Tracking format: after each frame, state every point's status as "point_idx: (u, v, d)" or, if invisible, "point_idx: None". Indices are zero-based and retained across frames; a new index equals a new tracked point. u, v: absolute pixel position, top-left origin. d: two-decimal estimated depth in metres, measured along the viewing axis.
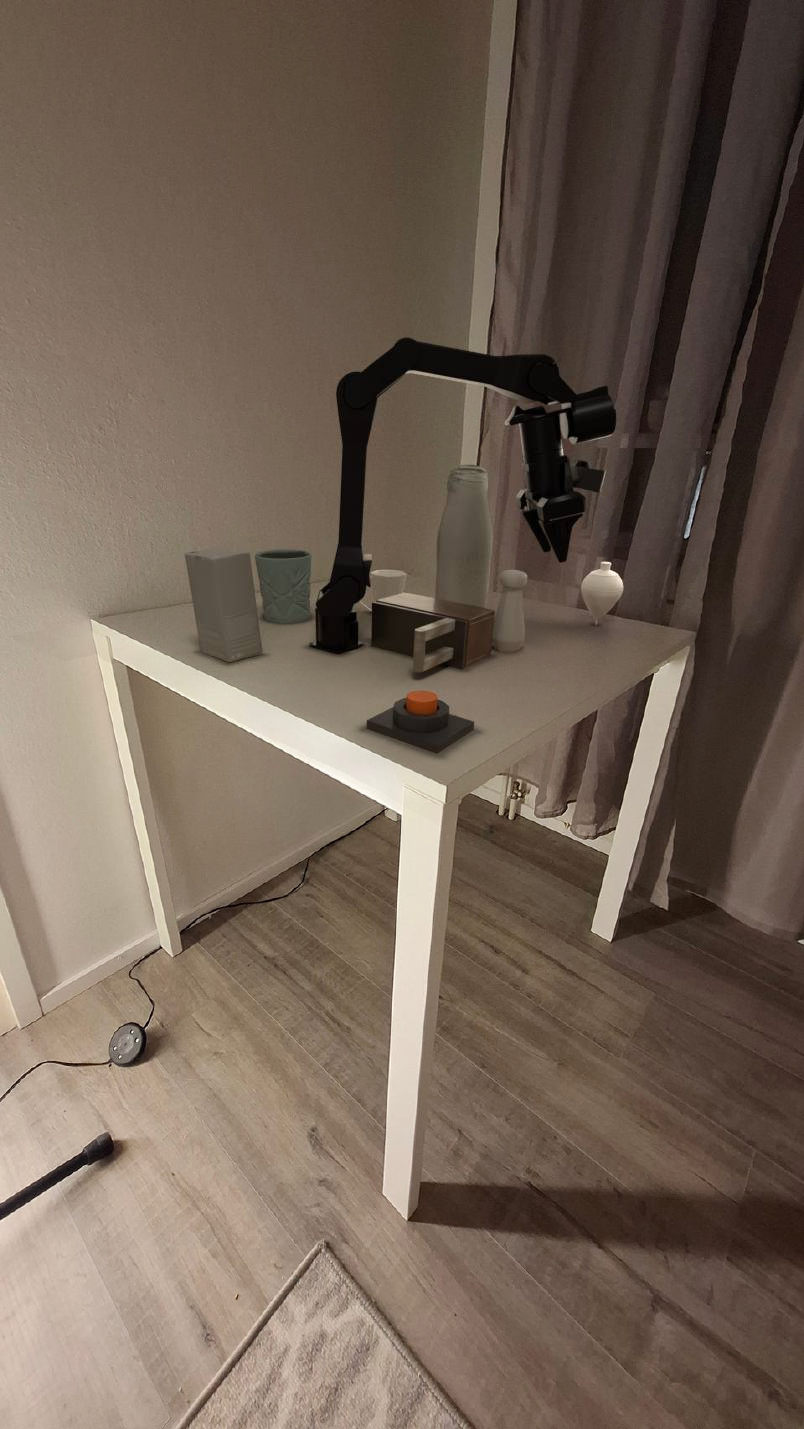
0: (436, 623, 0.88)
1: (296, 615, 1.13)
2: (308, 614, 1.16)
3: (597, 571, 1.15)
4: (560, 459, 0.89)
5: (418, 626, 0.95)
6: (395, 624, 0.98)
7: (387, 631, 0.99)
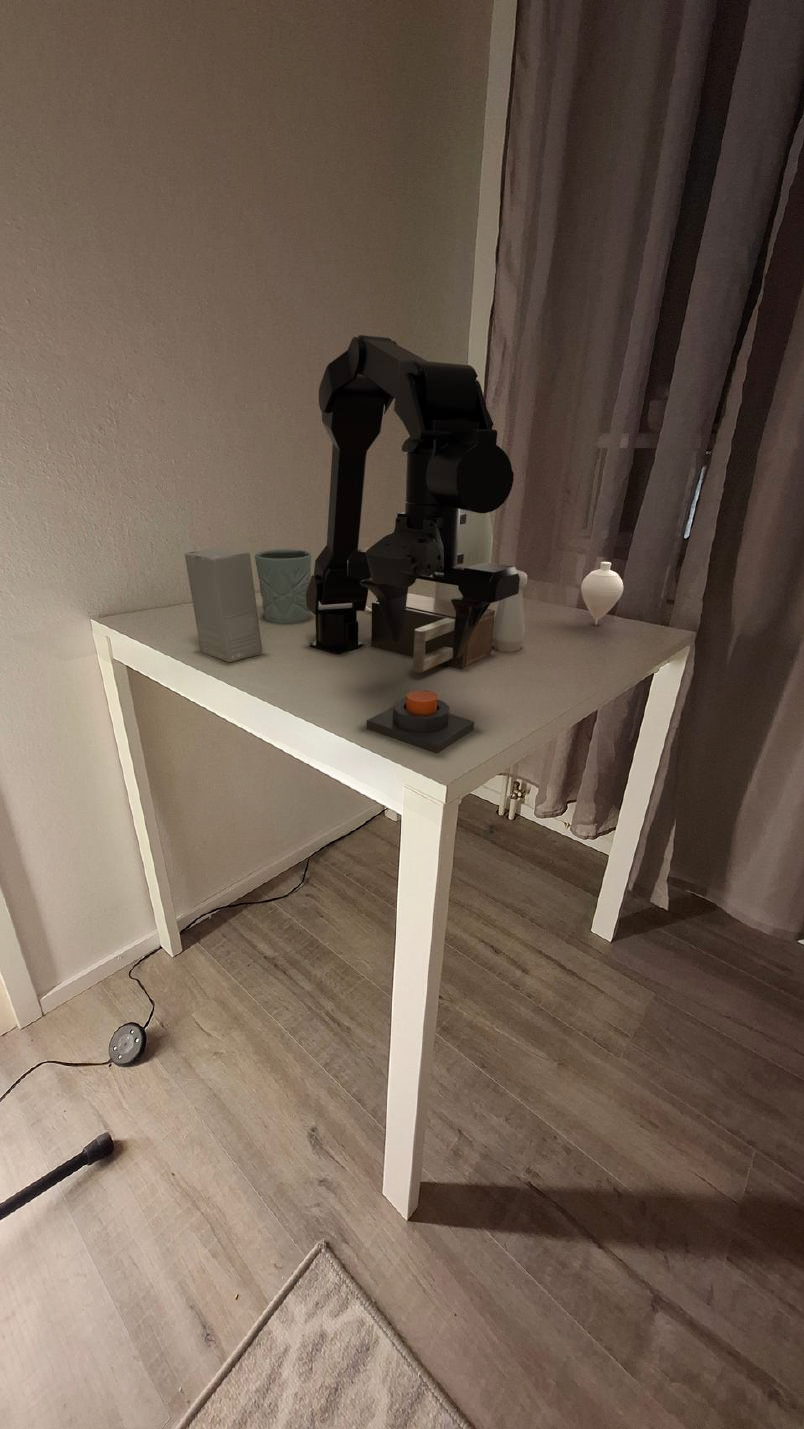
0: (436, 623, 0.88)
1: (296, 615, 1.13)
2: (308, 614, 1.16)
3: (597, 571, 1.15)
4: None
5: (418, 626, 0.95)
6: None
7: (387, 631, 0.99)
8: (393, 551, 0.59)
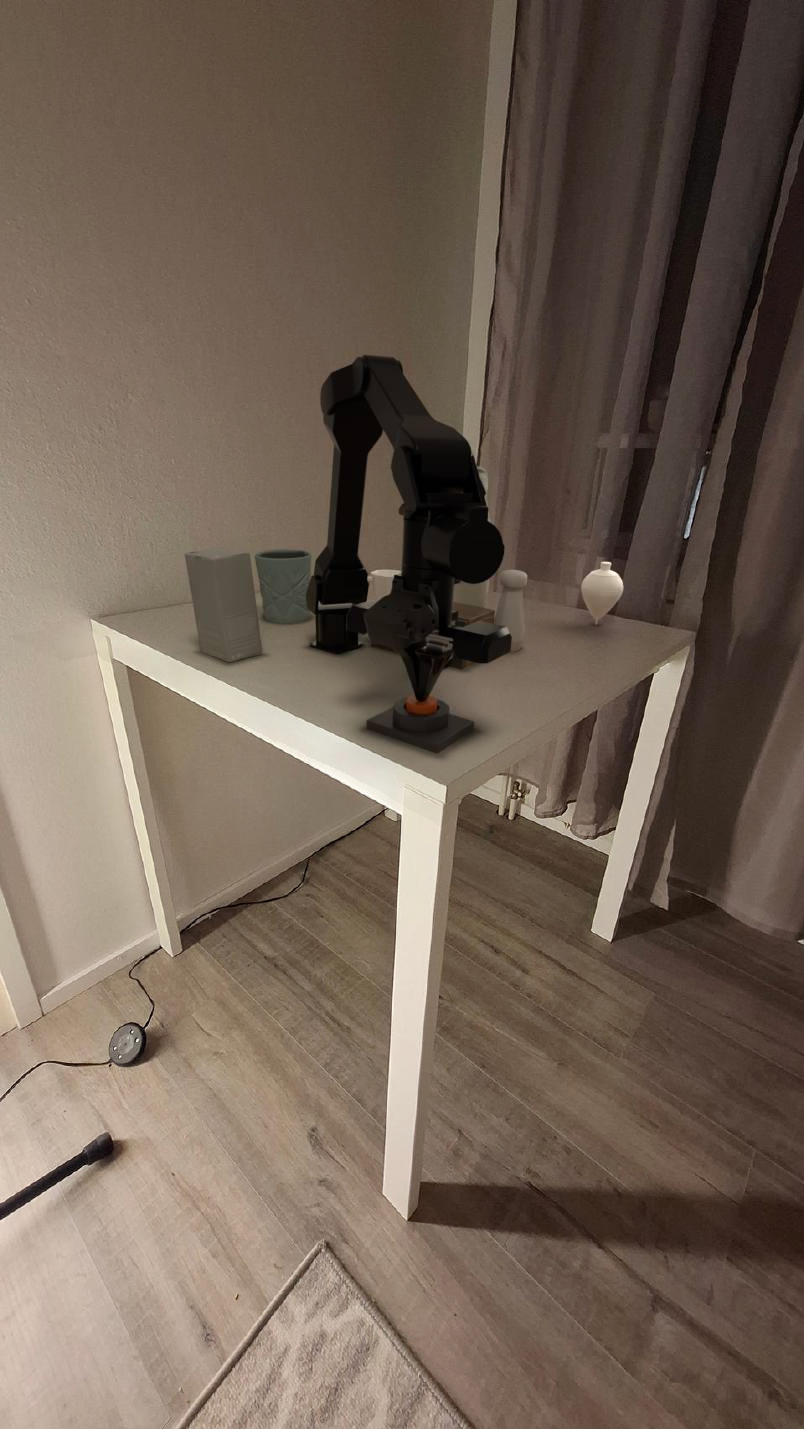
0: None
1: (296, 615, 1.13)
2: (308, 614, 1.16)
3: (597, 571, 1.15)
4: None
5: None
6: None
7: None
8: (389, 615, 0.61)
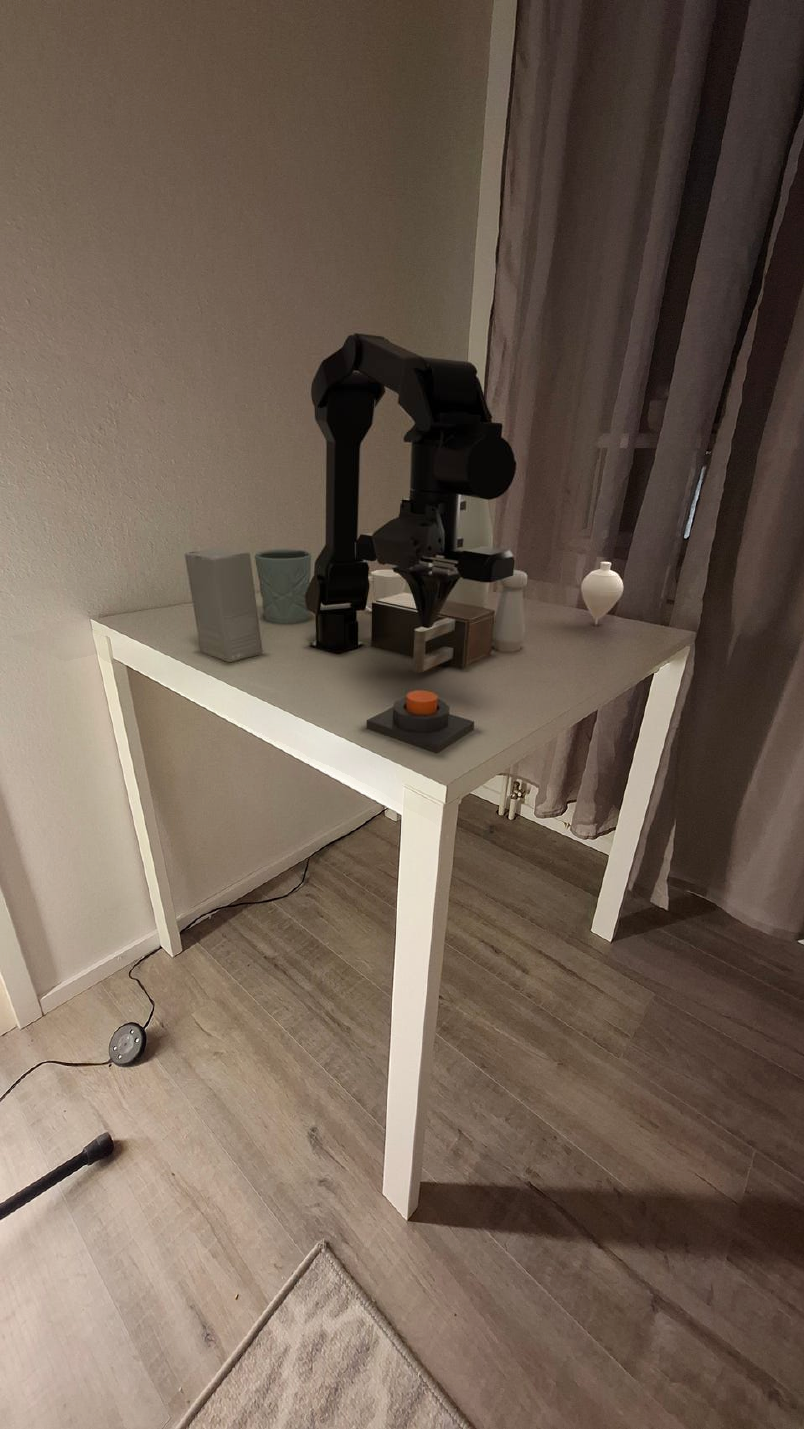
0: (436, 623, 0.88)
1: (296, 615, 1.13)
2: (308, 614, 1.16)
3: (597, 571, 1.15)
4: None
5: (418, 626, 0.95)
6: (395, 624, 0.98)
7: (387, 631, 0.99)
8: (397, 534, 0.64)
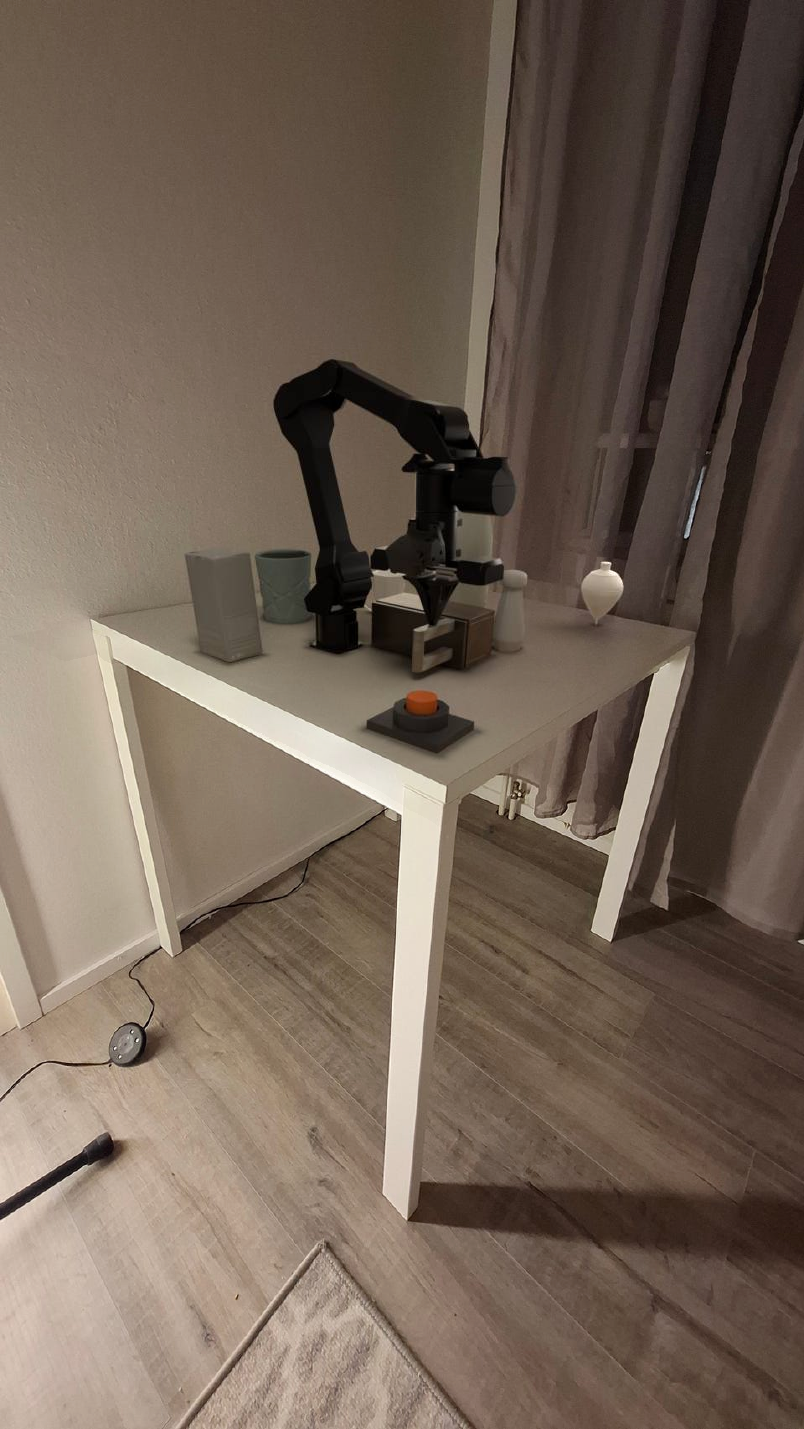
0: None
1: (296, 615, 1.13)
2: (308, 614, 1.16)
3: (597, 571, 1.15)
4: None
5: (418, 626, 0.95)
6: (395, 624, 0.98)
7: (387, 631, 0.99)
8: (406, 548, 0.77)
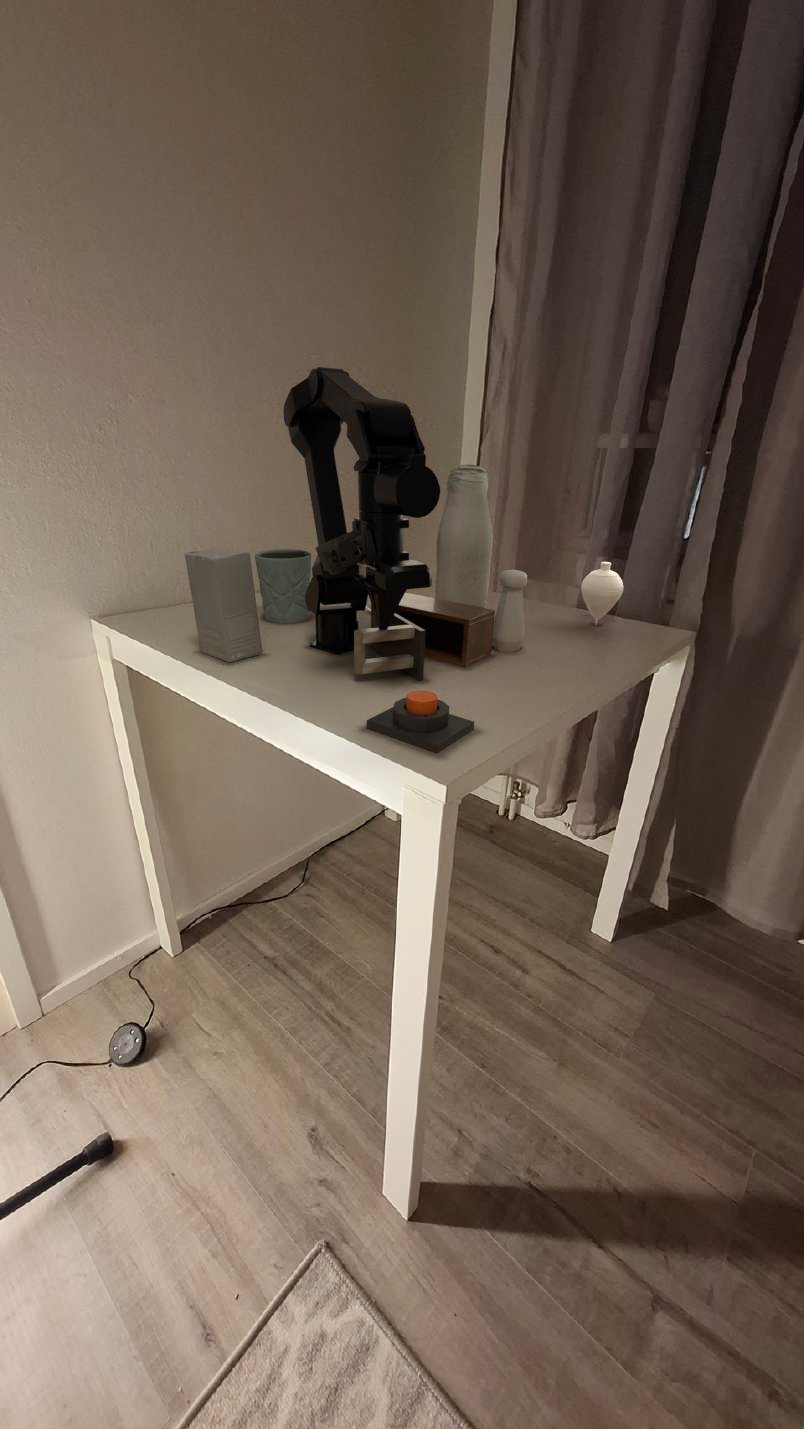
0: (388, 627, 0.85)
1: (296, 615, 1.13)
2: (308, 614, 1.16)
3: (597, 571, 1.15)
4: None
5: None
6: None
7: None
8: (329, 546, 0.77)
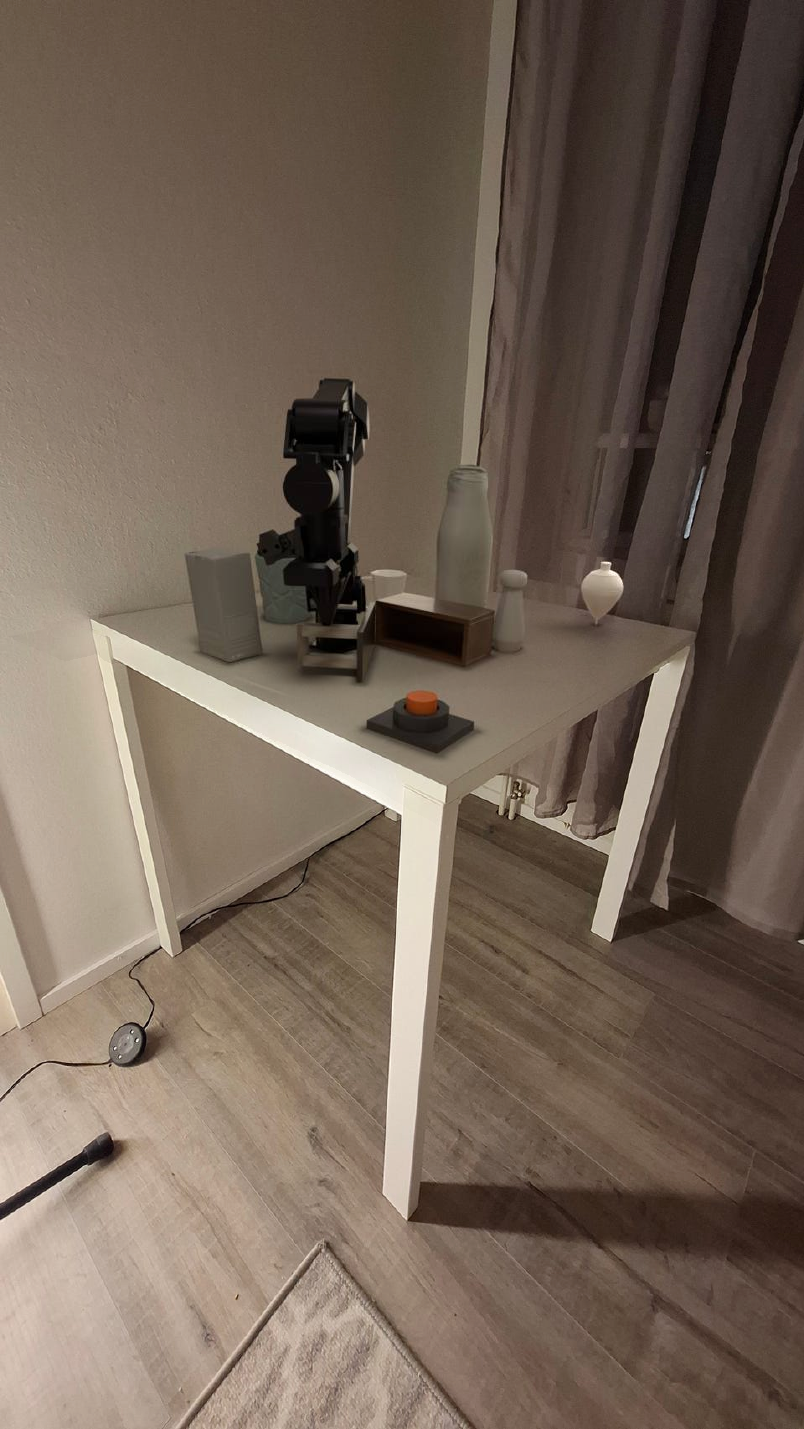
0: (332, 624, 0.86)
1: (296, 615, 1.13)
2: (308, 614, 1.16)
3: (597, 571, 1.15)
4: None
5: None
6: None
7: None
8: None
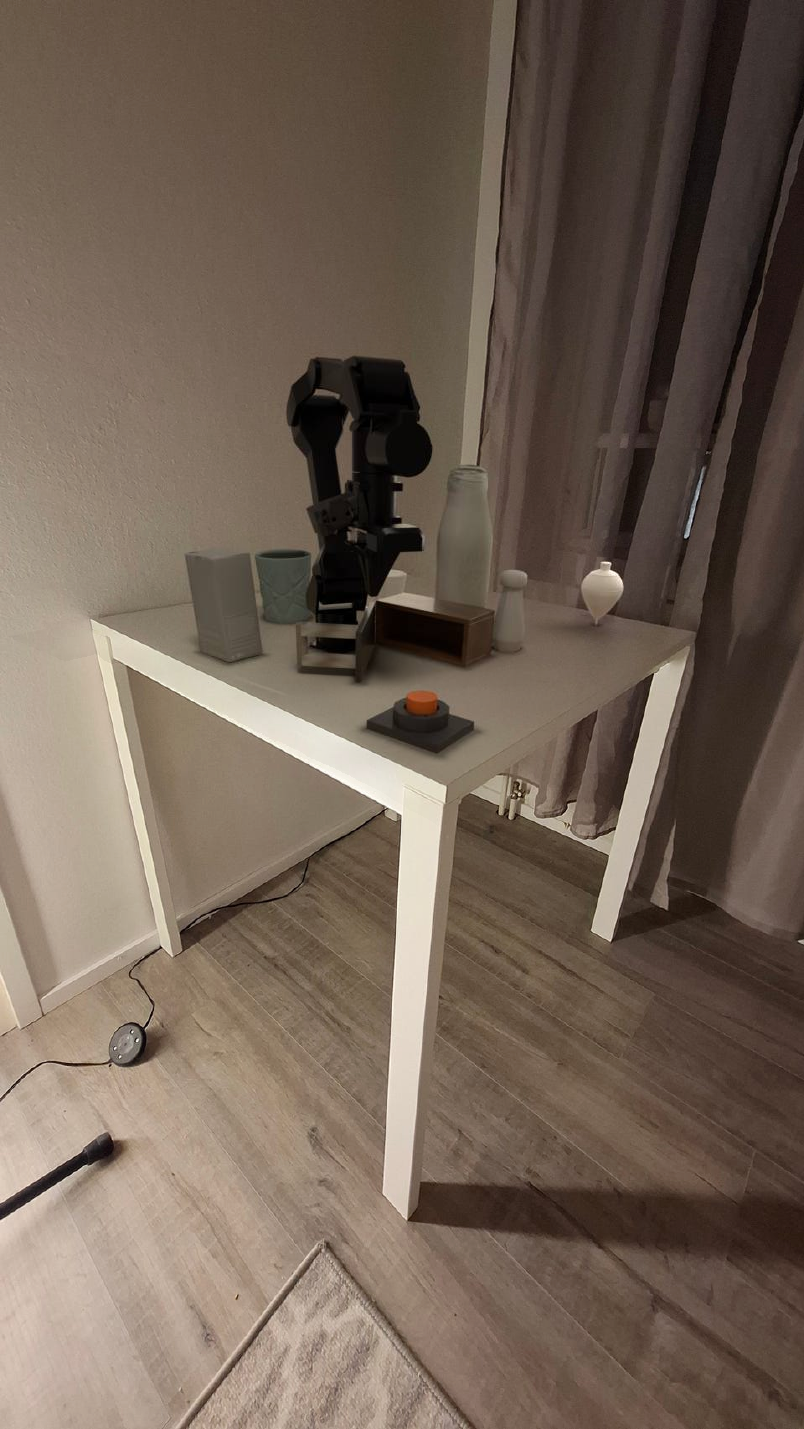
0: (331, 624, 0.86)
1: (296, 615, 1.13)
2: (308, 614, 1.16)
3: (597, 571, 1.15)
4: None
5: None
6: None
7: None
8: (320, 507, 0.75)
